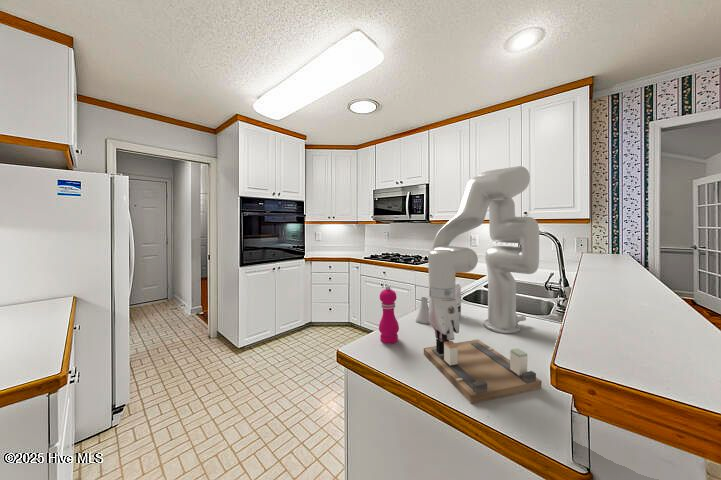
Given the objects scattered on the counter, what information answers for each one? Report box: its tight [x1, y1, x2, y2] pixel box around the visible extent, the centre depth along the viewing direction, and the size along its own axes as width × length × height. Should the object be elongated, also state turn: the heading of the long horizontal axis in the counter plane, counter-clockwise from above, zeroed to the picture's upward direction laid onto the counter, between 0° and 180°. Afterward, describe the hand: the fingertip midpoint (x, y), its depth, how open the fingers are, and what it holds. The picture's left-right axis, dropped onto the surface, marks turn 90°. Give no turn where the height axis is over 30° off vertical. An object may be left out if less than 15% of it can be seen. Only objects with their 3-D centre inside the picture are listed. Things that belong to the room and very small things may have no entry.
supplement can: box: [455, 280, 462, 318], centre depth 117 cm, size 8×8×15 cm
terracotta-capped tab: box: [444, 340, 458, 365], centre depth 76 cm, size 3×2×5 cm
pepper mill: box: [378, 284, 400, 345], centre depth 96 cm, size 7×7×20 cm
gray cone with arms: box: [415, 296, 431, 325], centre depth 113 cm, size 7×7×10 cm
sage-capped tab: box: [509, 348, 528, 376], centre depth 70 cm, size 3×2×5 cm
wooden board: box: [423, 339, 542, 404], centre depth 76 cm, size 24×20×4 cm
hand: (442, 352), depth 80 cm, fingers closed
